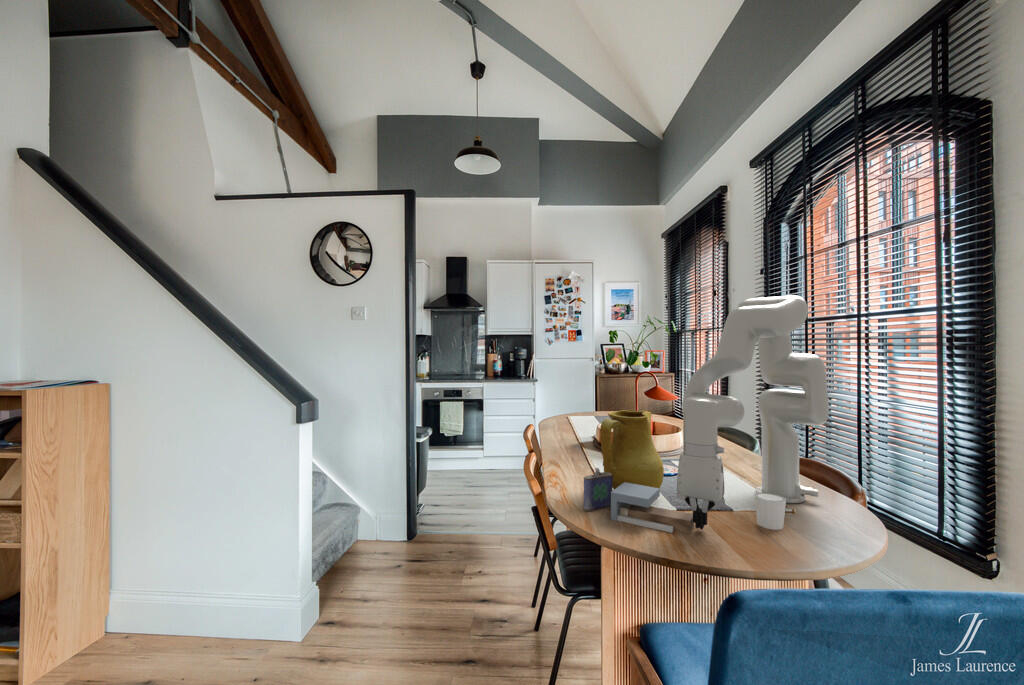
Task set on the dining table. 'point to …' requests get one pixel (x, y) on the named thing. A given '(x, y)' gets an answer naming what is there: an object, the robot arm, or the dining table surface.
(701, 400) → the robot arm
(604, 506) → the flask
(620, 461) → the pitcher
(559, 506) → the dining table surface
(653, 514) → the walnut slat
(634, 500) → the grey block with rails
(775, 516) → the white short cylinder
